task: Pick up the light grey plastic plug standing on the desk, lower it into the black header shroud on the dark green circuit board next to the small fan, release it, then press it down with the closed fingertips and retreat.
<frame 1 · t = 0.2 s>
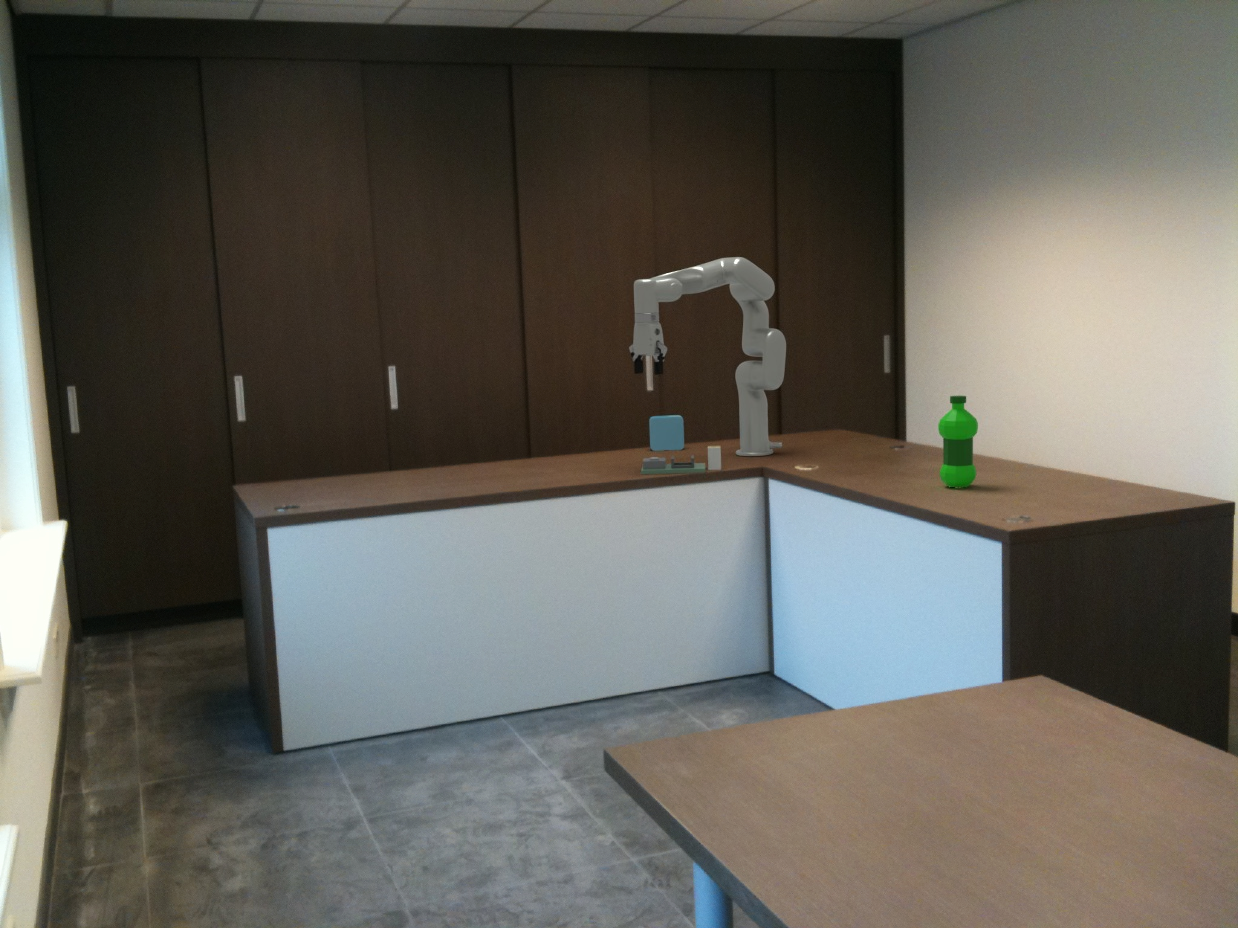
hand: (648, 373, 383), 31 cm above the table, tool pointing down, fingers open, 9 cm apart
plug: (714, 468, 385), on the table
blue rounded square block: (667, 450, 433), on the table
plastic bottle: (958, 487, 335), on the table
board: (673, 470, 385), on the table
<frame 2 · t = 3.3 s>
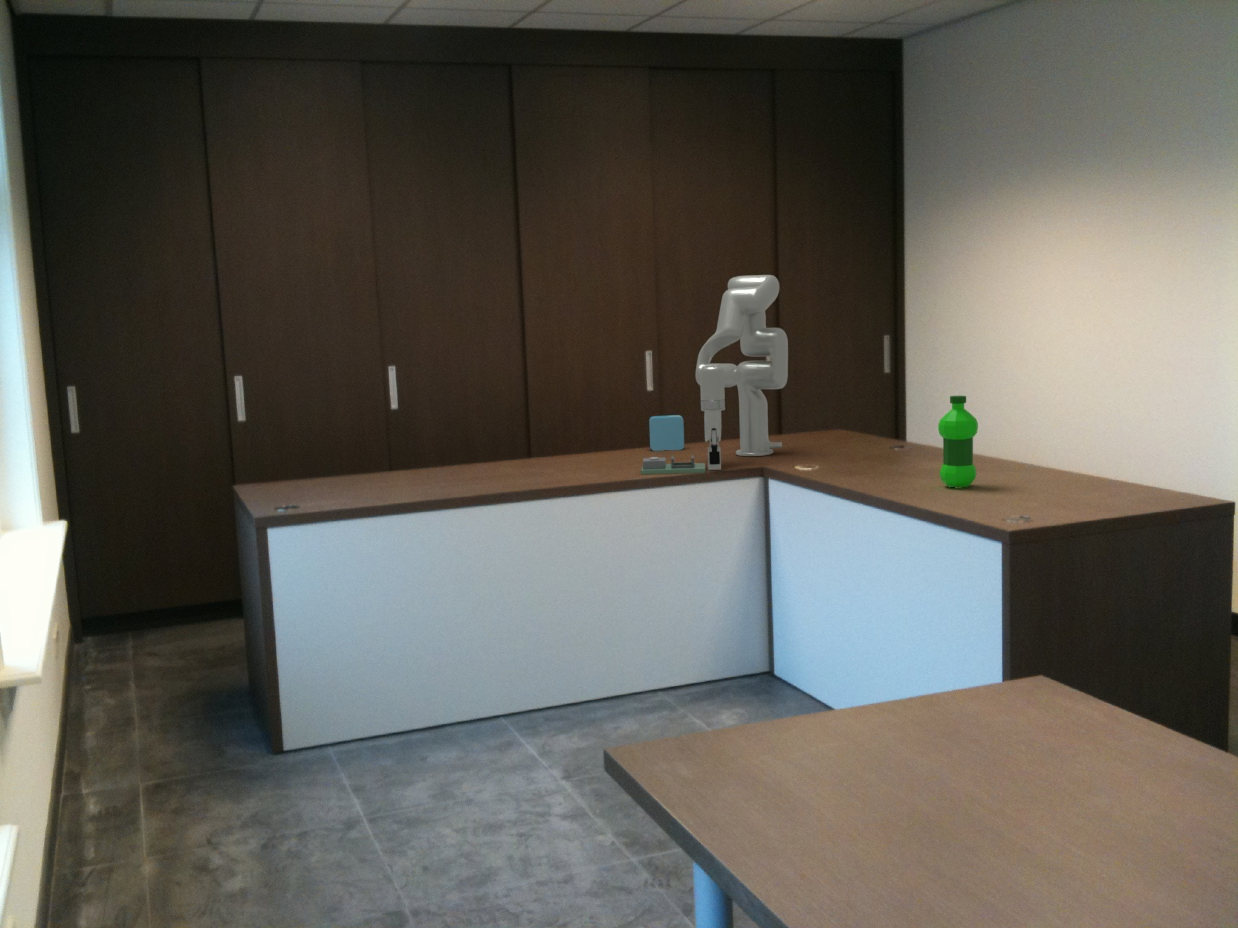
hand: (714, 462, 385), 2 cm above the table, tool pointing down, fingers closed on plug, 3 cm apart
plug: (714, 468, 385), on the table, touching gripper
everything else where it was.
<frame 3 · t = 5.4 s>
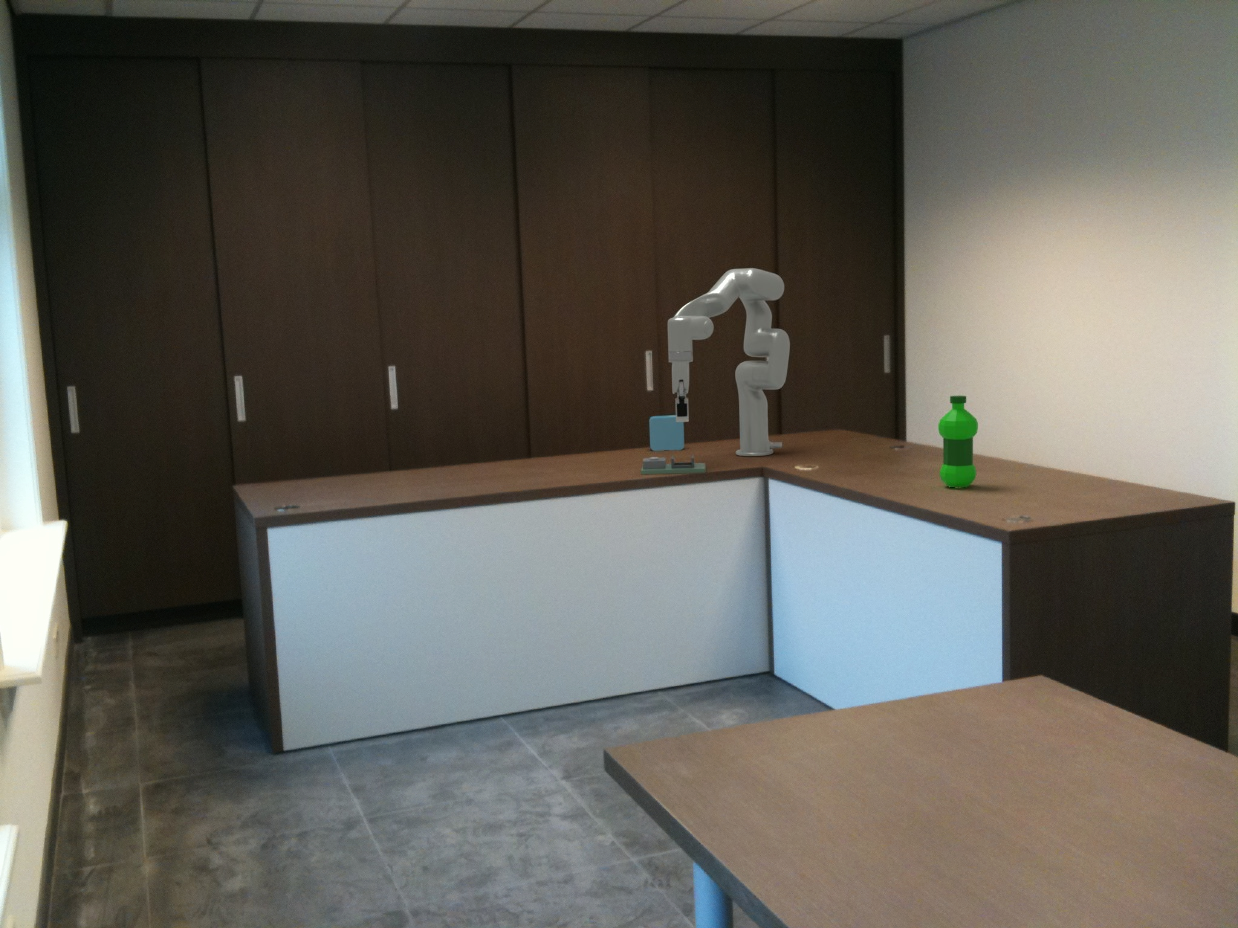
hand: (682, 415, 382), 18 cm above the table, tool pointing down, fingers closed on plug, 4 cm apart
plug: (682, 421, 382), point 16 cm above the table, touching gripper
everything else where it was.
when the fingers open (3 cm above the table, at t = 7.5 s): plug stays where it is, resting on board.
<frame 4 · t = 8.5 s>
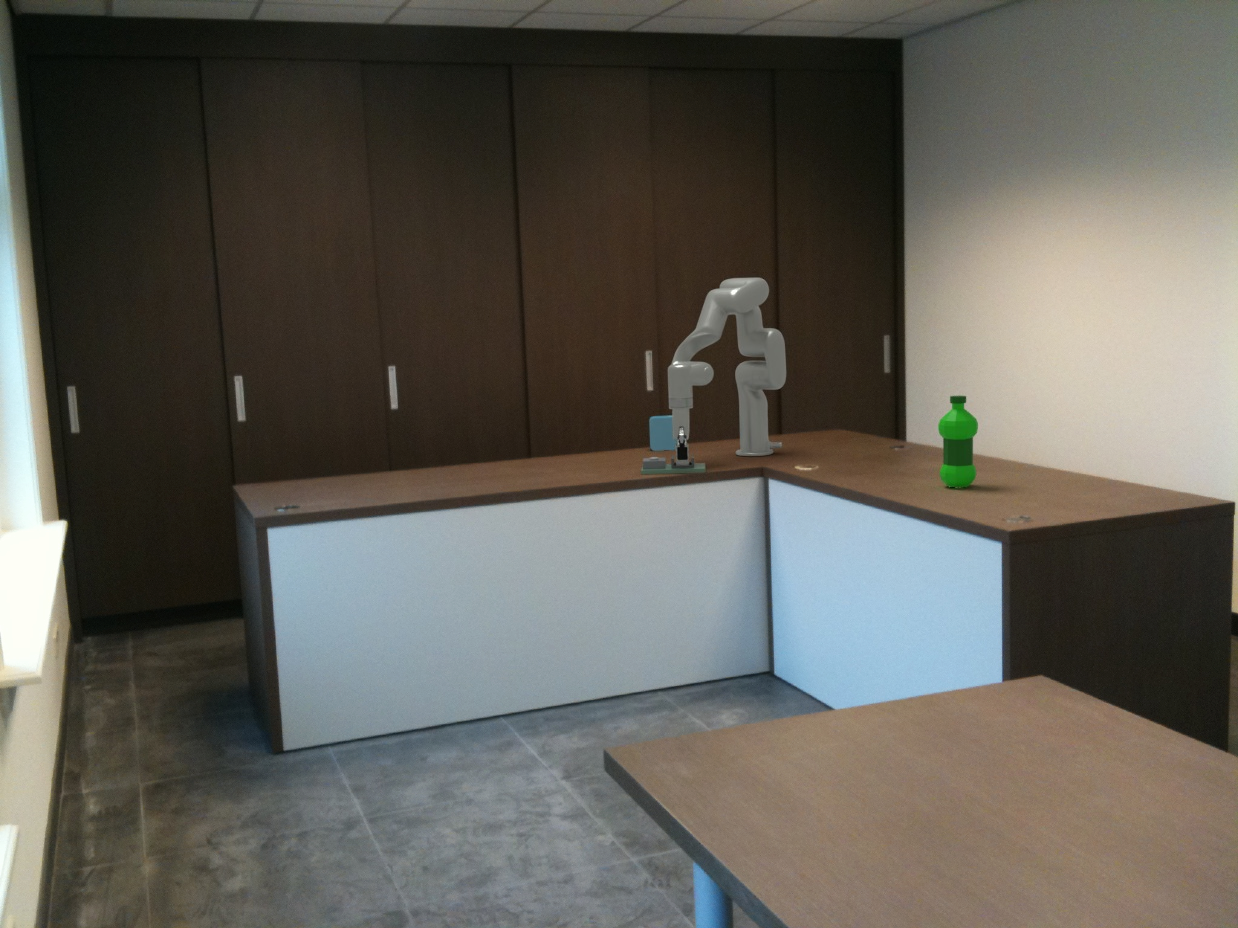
hand: (682, 457, 384), 4 cm above the table, tool pointing down, fingers open, 9 cm apart
plug: (682, 466, 384), point 1 cm above the table, touching board
everything else where it was.
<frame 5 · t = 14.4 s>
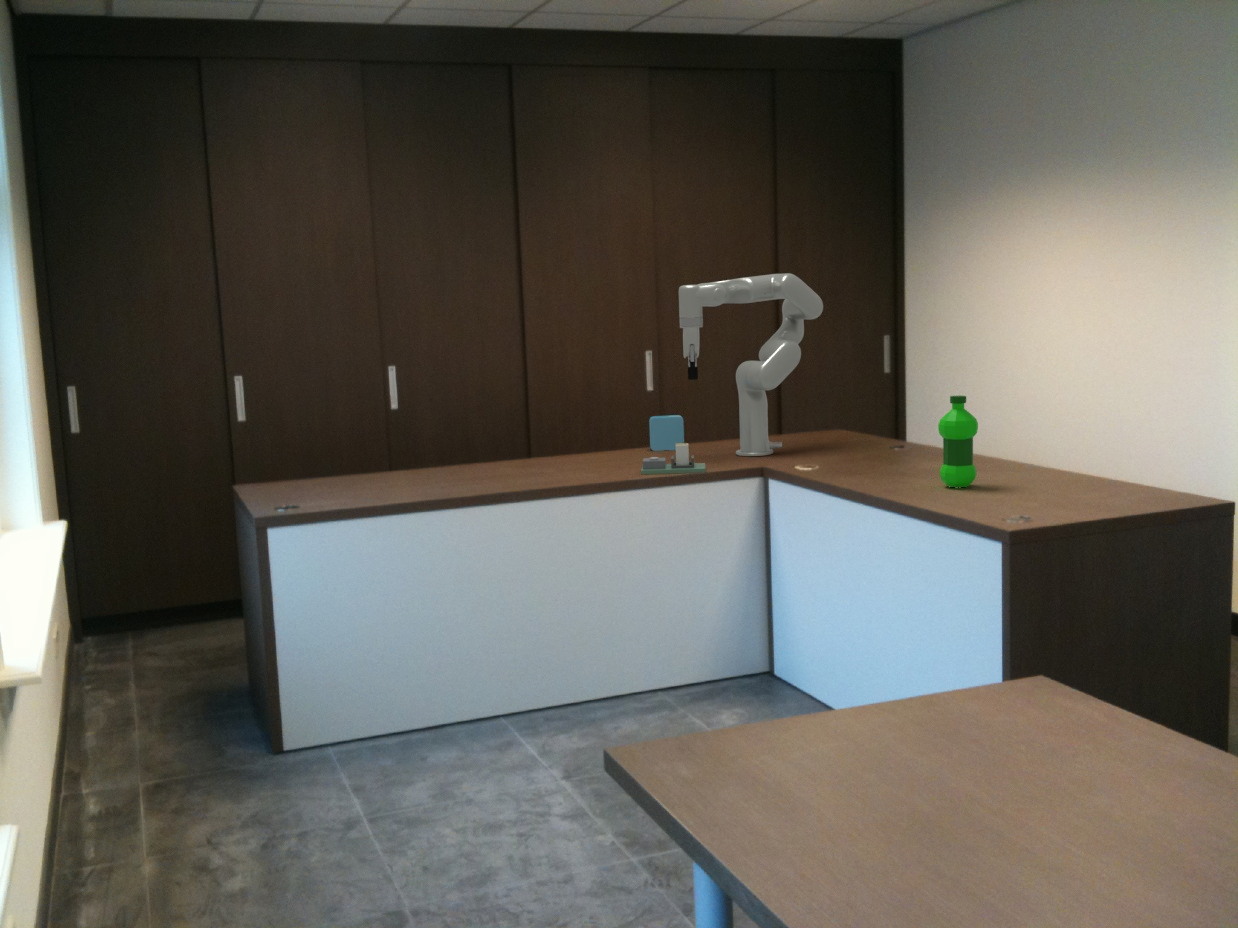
hand: (693, 379, 399), 27 cm above the table, tool pointing down, fingers closed
nothing on the table moved.
at the end: plug 0.1 cm from the target spot on the board, point 1.2 cm above the board's base; plug tilted 0°; the gripper is holding nothing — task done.
